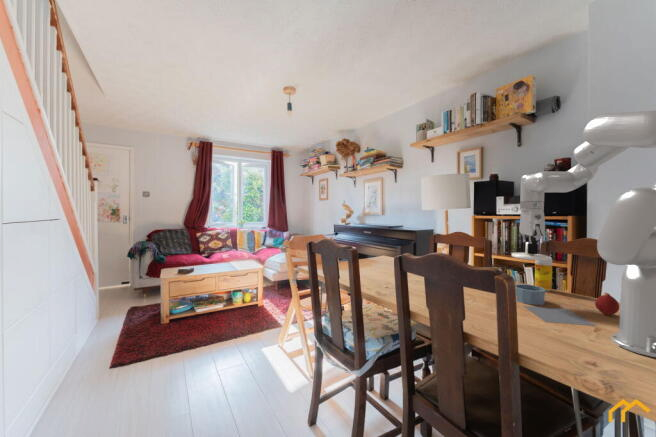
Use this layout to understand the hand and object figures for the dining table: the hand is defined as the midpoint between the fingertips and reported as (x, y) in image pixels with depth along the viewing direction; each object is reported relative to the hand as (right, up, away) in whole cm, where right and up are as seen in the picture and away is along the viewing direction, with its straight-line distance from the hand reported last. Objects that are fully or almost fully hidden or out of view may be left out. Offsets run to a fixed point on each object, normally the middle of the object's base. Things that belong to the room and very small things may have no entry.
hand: (530, 252), depth 110 cm
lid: (0, -2, 0) cm, 2 cm away
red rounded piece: (+16, -20, -14) cm, 29 cm away
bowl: (0, -19, +1) cm, 19 cm away
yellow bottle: (+18, -19, +16) cm, 31 cm away
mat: (-1, -20, -14) cm, 24 cm away
